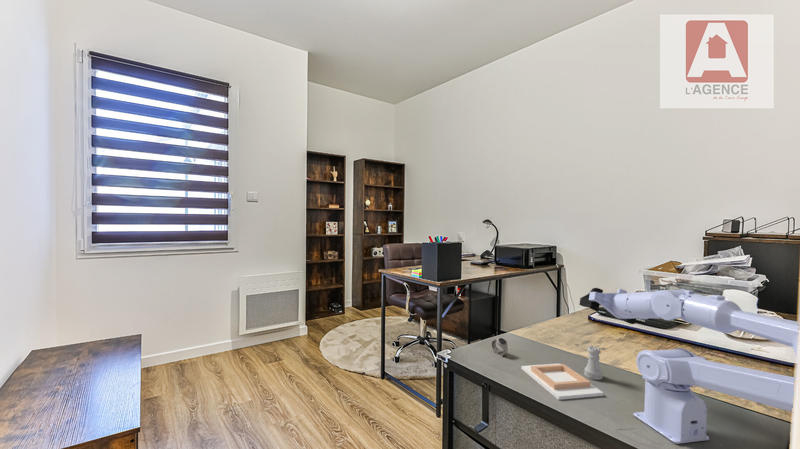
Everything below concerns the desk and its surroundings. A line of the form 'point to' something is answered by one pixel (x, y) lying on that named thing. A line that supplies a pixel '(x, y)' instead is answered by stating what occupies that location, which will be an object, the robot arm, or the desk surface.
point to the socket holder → (562, 381)
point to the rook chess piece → (593, 364)
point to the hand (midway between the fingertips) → (593, 306)
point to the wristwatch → (502, 344)
